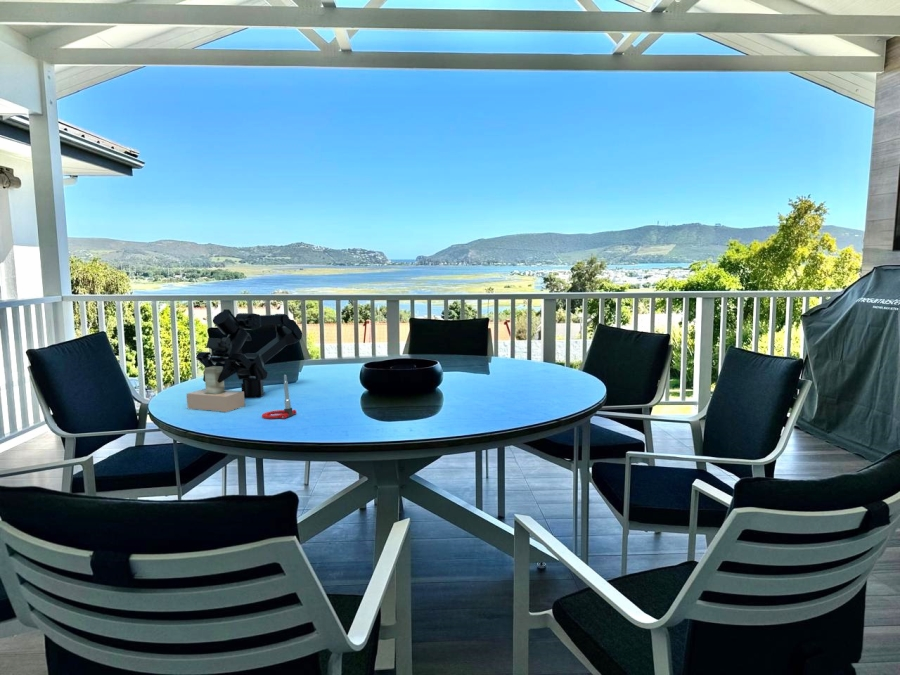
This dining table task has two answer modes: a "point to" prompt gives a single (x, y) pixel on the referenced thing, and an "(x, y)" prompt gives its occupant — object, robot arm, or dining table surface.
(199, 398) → the flat beige box
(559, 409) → the dining table surface
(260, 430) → the dining table surface
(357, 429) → the dining table surface
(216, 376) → the birch bar
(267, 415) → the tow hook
